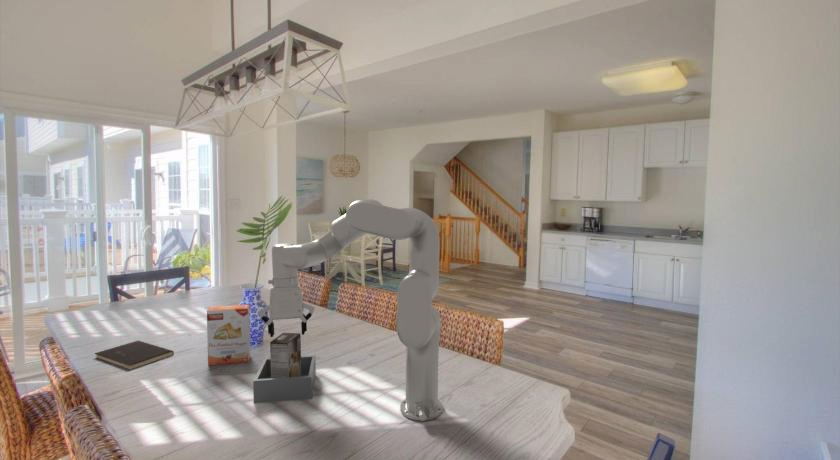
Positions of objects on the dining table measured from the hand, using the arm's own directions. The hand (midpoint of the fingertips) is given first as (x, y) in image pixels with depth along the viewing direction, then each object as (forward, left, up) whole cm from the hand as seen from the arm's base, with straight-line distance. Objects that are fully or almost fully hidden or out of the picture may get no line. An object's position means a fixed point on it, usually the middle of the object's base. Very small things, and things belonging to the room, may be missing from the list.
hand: (287, 334), depth 130 cm
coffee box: (0, +1, -17) cm, 17 cm away
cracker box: (+25, +25, -18) cm, 40 cm away
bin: (0, +1, -18) cm, 18 cm away
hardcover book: (+36, +62, -19) cm, 74 cm away
